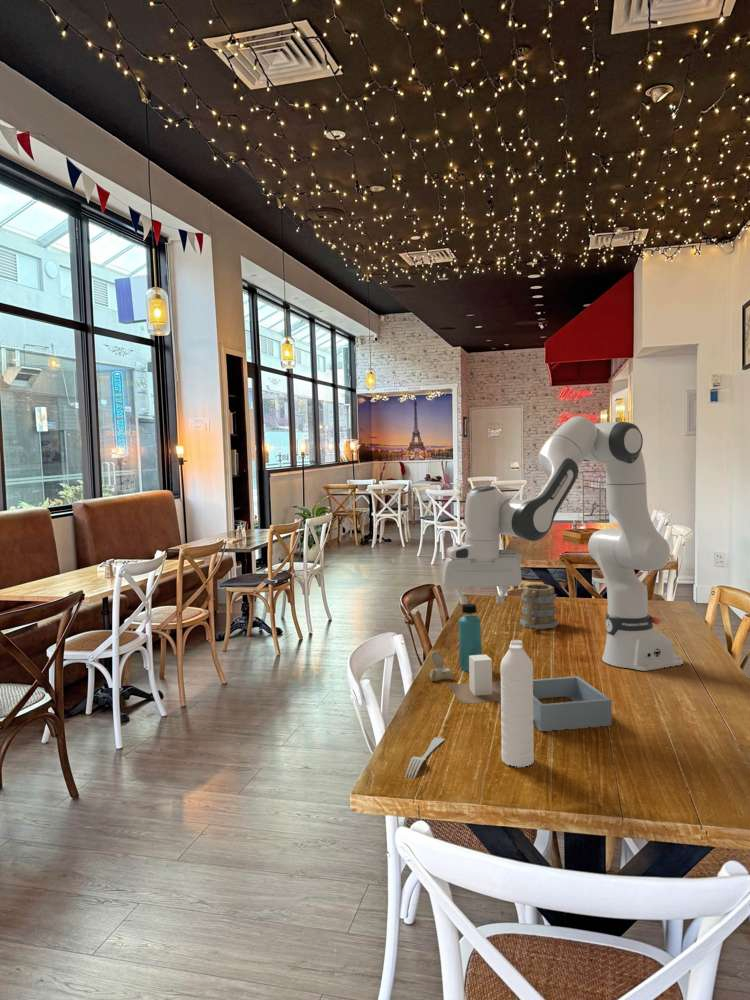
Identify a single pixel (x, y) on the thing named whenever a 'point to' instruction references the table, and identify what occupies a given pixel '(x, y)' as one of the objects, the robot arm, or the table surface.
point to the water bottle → (517, 707)
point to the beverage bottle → (469, 636)
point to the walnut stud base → (468, 697)
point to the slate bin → (569, 705)
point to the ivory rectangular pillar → (480, 674)
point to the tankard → (538, 606)
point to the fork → (432, 746)
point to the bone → (439, 668)
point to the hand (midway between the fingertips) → (481, 603)
